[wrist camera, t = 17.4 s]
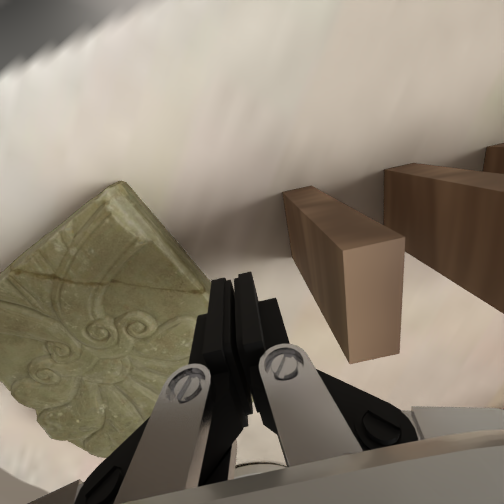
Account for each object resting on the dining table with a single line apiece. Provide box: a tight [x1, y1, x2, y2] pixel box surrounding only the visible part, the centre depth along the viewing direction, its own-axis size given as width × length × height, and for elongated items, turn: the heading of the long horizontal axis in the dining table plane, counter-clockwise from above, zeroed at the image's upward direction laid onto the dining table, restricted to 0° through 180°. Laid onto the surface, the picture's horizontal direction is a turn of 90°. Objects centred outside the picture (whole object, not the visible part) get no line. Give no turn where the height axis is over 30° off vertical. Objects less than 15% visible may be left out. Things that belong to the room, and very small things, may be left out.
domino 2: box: [383, 163, 504, 314], centre depth 13 cm, size 2×5×10 cm, turn 12°
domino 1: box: [282, 186, 405, 364], centre depth 14 cm, size 2×5×10 cm, turn 11°
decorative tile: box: [0, 181, 253, 458], centre depth 20 cm, size 19×20×4 cm
